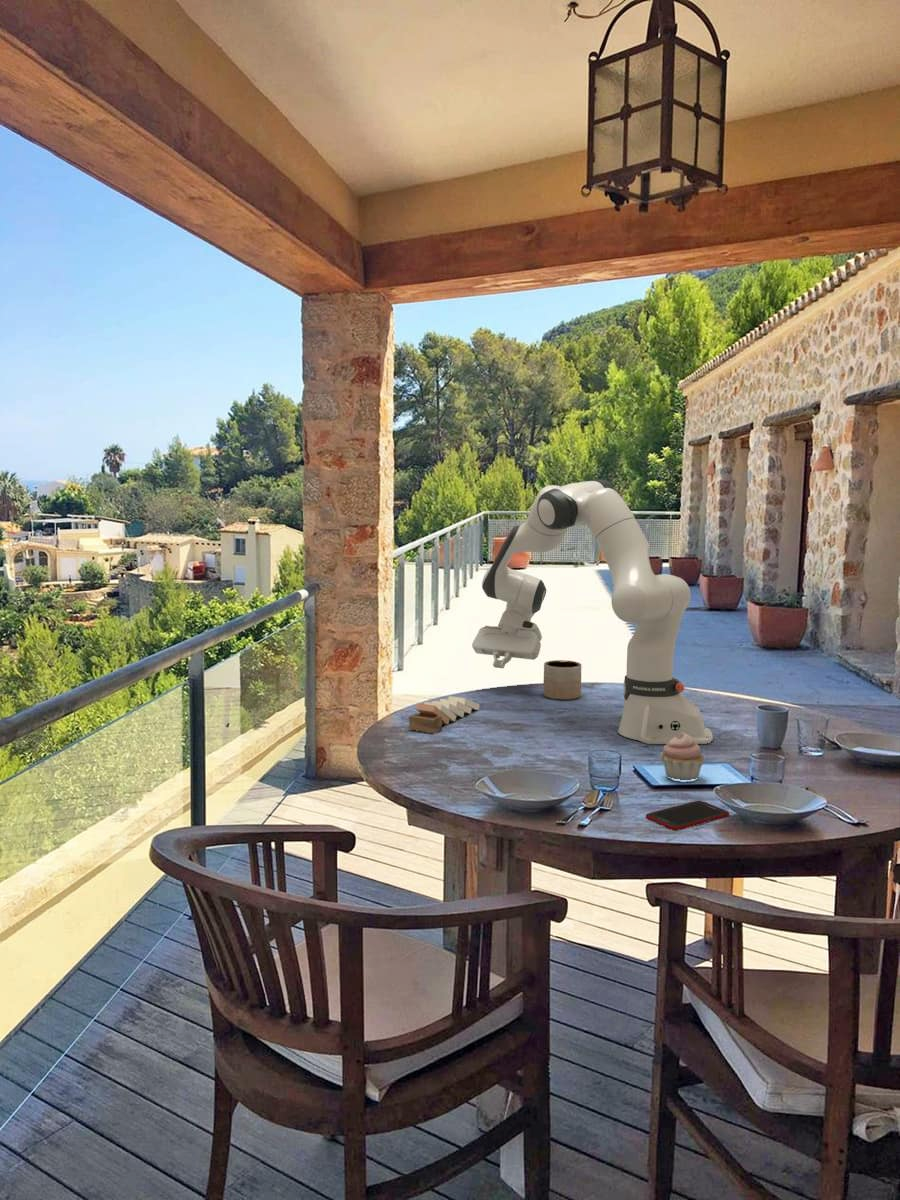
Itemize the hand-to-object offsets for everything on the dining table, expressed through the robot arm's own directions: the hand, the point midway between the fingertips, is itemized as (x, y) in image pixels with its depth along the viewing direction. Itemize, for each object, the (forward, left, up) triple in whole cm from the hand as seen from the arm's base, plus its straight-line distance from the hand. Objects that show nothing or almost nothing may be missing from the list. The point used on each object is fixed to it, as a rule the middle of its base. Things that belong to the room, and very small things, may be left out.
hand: (497, 666), depth 258 cm
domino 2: (+10, +29, -8) cm, 32 cm away
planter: (-18, -3, -9) cm, 21 cm away
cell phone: (-44, +88, -9) cm, 99 cm away
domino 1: (+11, +32, -8) cm, 35 cm away
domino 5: (+6, +16, -8) cm, 19 cm away
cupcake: (-45, +66, -9) cm, 81 cm away
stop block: (+14, +39, -9) cm, 42 cm away
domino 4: (+7, +21, -8) cm, 23 cm away
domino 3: (+9, +25, -8) cm, 27 cm away
